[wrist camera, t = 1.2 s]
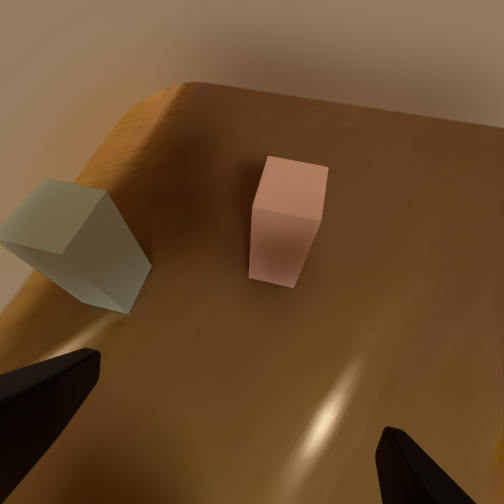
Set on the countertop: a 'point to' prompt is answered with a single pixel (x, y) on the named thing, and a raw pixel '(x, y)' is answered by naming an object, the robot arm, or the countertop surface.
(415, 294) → the countertop surface
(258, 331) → the countertop surface
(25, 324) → the countertop surface
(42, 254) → the sage block
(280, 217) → the terracotta block
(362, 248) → the countertop surface
